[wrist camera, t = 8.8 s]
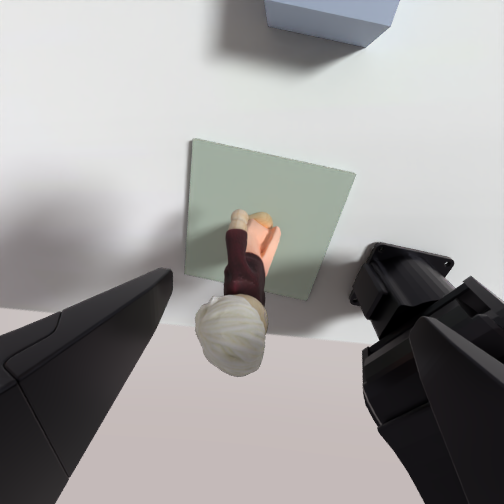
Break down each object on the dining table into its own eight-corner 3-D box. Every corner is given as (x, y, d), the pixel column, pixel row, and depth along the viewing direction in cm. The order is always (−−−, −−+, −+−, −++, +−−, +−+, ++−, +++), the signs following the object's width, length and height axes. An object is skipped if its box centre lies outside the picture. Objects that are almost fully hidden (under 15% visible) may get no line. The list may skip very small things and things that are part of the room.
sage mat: (354, 172, 18) (356, 174, 17) (306, 297, 24) (306, 301, 23) (195, 138, 18) (192, 138, 18) (186, 270, 24) (184, 274, 23)
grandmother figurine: (290, 265, 22) (299, 418, 11) (249, 273, 22) (217, 422, 11) (268, 179, 18) (248, 272, 7) (221, 192, 19) (138, 293, 8)
